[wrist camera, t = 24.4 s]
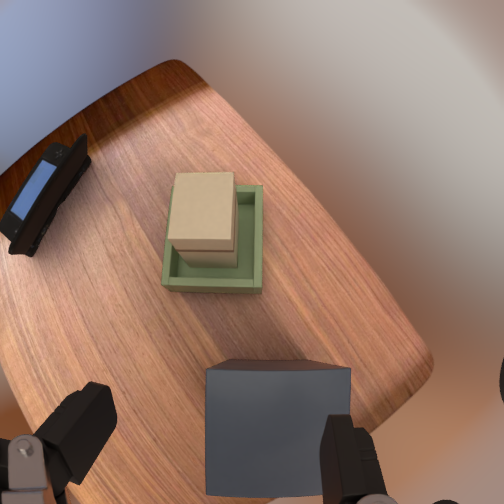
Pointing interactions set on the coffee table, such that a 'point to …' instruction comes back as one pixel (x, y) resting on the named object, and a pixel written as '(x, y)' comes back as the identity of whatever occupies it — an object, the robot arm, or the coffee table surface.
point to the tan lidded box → (205, 219)
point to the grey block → (269, 425)
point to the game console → (43, 195)
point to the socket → (223, 279)
